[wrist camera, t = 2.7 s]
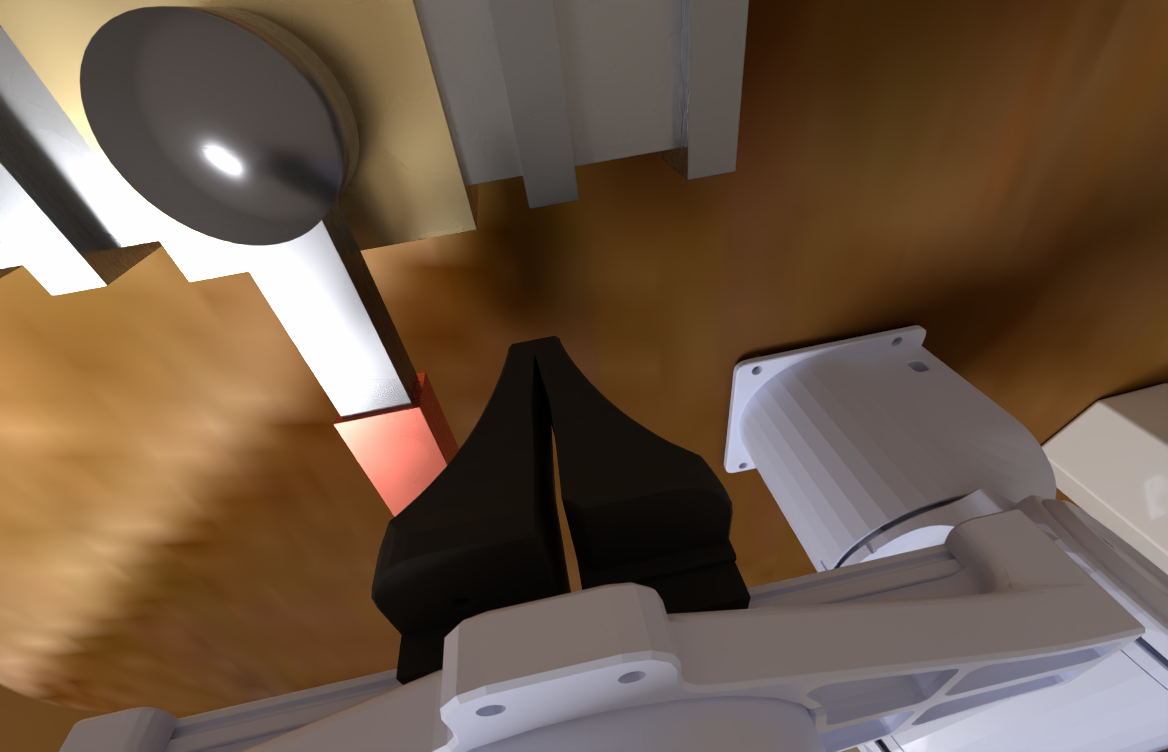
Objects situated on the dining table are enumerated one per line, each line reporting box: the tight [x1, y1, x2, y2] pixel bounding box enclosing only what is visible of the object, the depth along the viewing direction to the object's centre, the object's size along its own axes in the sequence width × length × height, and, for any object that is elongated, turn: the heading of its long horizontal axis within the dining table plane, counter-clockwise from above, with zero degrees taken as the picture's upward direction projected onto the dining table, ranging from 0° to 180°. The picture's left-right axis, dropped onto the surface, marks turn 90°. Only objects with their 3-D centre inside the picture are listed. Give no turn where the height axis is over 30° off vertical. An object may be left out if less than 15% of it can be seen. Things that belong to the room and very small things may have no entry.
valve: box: [0, 0, 749, 296], centre depth 11 cm, size 20×6×5 cm, turn 97°
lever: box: [80, 6, 459, 517], centre depth 12 cm, size 13×4×2 cm, turn 7°
